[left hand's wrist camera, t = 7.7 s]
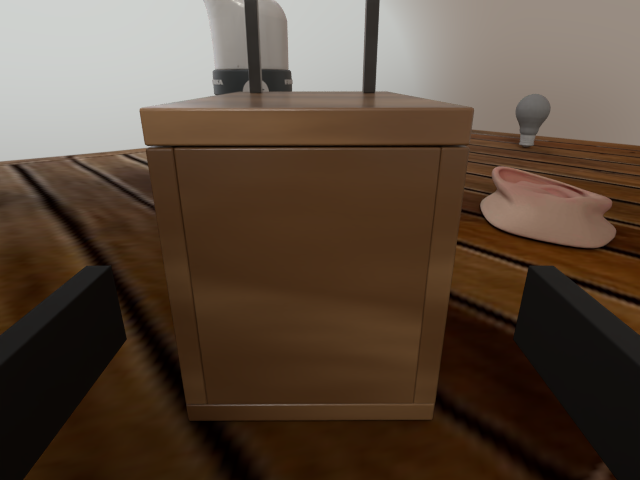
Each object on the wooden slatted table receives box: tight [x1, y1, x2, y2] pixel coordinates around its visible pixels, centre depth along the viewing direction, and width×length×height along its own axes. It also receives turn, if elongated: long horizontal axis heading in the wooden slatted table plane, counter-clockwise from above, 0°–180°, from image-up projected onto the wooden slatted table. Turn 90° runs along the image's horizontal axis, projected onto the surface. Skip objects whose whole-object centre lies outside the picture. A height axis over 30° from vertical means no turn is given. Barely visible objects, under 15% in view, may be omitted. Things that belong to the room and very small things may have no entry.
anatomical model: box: [480, 167, 616, 248], centre depth 39 cm, size 13×4×12 cm
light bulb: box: [516, 94, 550, 147], centre depth 80 cm, size 6×6×10 cm
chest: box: [146, 146, 469, 421], centre depth 22 cm, size 16×10×11 cm, turn 0°
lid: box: [140, 0, 474, 146], centre depth 18 cm, size 16×10×8 cm, turn 0°
